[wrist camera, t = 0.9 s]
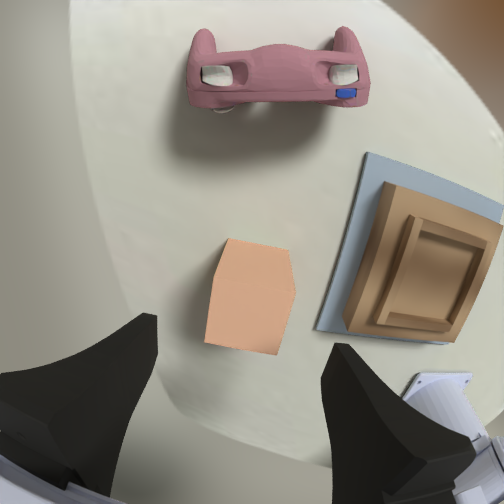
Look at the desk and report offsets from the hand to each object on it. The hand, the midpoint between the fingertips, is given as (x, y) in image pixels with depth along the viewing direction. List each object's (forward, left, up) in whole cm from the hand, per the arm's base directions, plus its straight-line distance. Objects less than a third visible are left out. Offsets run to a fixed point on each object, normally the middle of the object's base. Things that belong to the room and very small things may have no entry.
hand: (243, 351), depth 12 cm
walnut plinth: (+2, -12, -9) cm, 16 cm away
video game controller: (+12, +1, -10) cm, 16 cm away
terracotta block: (-1, 0, -10) cm, 10 cm away
